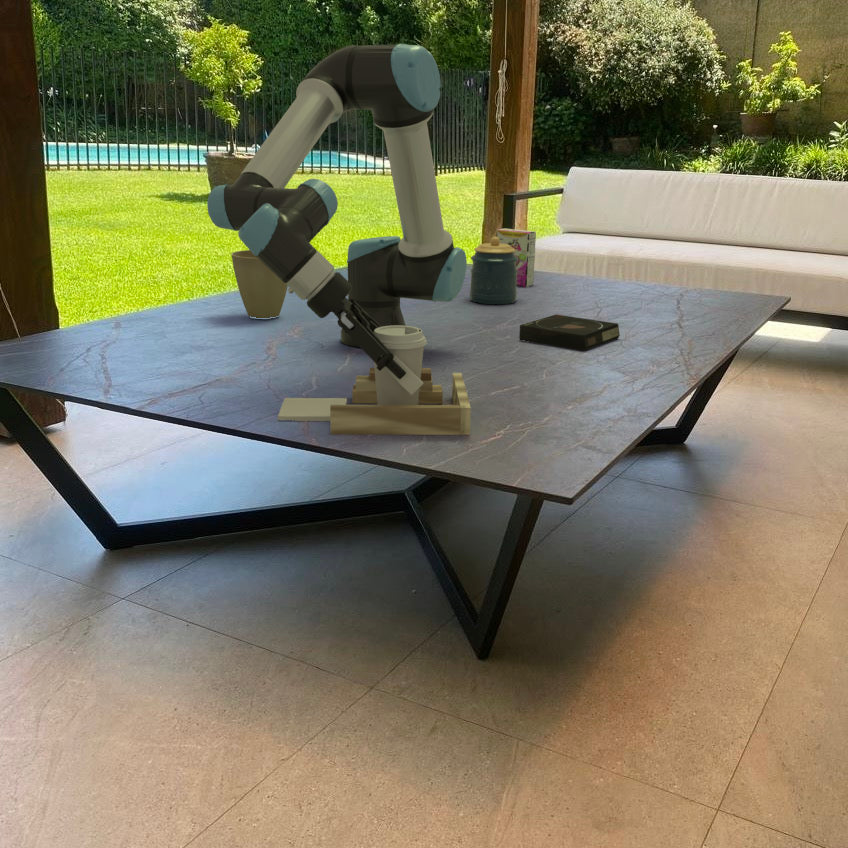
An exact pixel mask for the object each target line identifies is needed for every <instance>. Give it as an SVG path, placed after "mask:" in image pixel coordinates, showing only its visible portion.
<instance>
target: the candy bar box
mask: <svg viewBox="0 0 848 848" xmlns="http://www.w3.org/2000/svg"><path fill="white" fill-rule="evenodd" d="M496 237H498V238H499V239H500V244H508V245H510V246H511V247H512V248H514V249H515V250H516V251H515V252H514V255H515V256H516V257H517V258H518V261H517V262H516V269H517V270H518V272H517V287H522V288H528V287H531V286H532V287H533V286H534V280H535V279H534V275H535V258H536V257H535V256H536V241H537V239H536V238H537V232H536V231H535V230H525V229H515V228H514V229H513V228H500V229H496Z"/></svg>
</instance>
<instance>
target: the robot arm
mask: <svg viewBox="0 0 848 848" xmlns="http://www.w3.org/2000/svg"><path fill="white" fill-rule="evenodd" d="M440 75H441V74H440V71H439V68H438V65H437V62H436V60H435V58H434V56H433V54H432V53H431V52H430V51H428V49H426V48H425V47H424V46H422V45H416V44H414V45H413V44H406V43H399V44H378V45H377V44H375V45H374V44H373V45H372V44H371V45H367V44H366V45H361V44H359V45H356V44H355V45H349V46H344V47H343V48H340V49H338V50H336V51H334V52H333V53H330V54H329V55H328V56H326V57H324V58H323V59H322V60H321V61H320V62H318V63H317V64H316V65H315V66H314V67H313V68H312V69H311V70H310V71H309V72H308V73H307V74H306V76H305V77H303V78H302V80H301V82H299V84H298V86H297V88H296V94H295V95H296V98H295V99H294V100H293V102H292V103H291V105H289V107H288V109H287V110H286V112H285V113H284V114H283V116H282V117H281V119H280V120H279V121H278V122H277V124H276V125H275V126H274V128H273V129H272V130H271V132H270V133H269V135H268V136H267V137H266V139H265V140H264V142H263V143H262V144H261V145H260V147H259V148H258V150H257V151H256V152H255V153H254V155H253V156H252V158H251V159H250V161H249V162H248V164H246V166H245V167H244V169H243V170H242V172H241V173H240V174H239V176H238V177H237V178H236V180H235V182H234V183H233V184H228V183H226V184H220V185H216V186H215V187H213V188H212V190H211V191H210V193H209V195H208V199H207V203H206V204H207V213H208V217H209V218H210V220H211V222H212V223H213V224H214V225H215V226H216V227H217V228H219V229H223V230H231V231H234V232H238V236H237V237H239V240H240V241H241V242H242V243H243V244H244V245H245V247H246V248H247V250H250V251H251V252H252V254H253V255H254V256H256V257H257V258H258V259H259V260H260V261H262V262H263V263H264V264H265V265H266V266H267V267H268V268H269V269H270V270H271V271H272V272H273V273H274V274H275V275H276V276H278V277H279V278H280V279H281V280H282V281H283V282H284V283H285V284H286V285H287V286H288V287H287V292H288V294H293V293H294V294H295V295H296V296H297V297H298V298H299V299H300V300H301V301H305V300H307V302H306V306H307V307H308V308H309V309H310V310H311V311H312V312H313V313H314V314H315V315H316V316H317V317H318V318H320V319H324V318H326V317H327V316H329V315H330V313H333V314H334V315H335V316H336V318H337V321H336V322H337V325H338V326H339V328H341V329H340V342H341V343H342V344H344V345H346V346H350V347H354V346H355V348H356V347H357V348H361V349H362V350H363V351H364V353H365V354H366V355H368V357H369V358H370V359H371V360H372V361H373V363H374V362H375V363H376V365H377V366H378V367H377V369H378V370H379V371H381V370H382V369H383V368H384V369H385V370H386V371H387V372H388V373H389V374H390V375H391V376H392V377H393V378H394V379H396V380H397V381H398V382H399V383H400V384H401V385H402V386H403V387H404V388H405V389H406V390H407V391H408V392H409V393H410V394H411V395H412V394H413V393H414V392H415V391H416V390H417V389H418V388H419V387H421V386H422V385H423V382H422V381H421V380H420V379H419V378H418V377H417V376H416V375H415V374H414V373H413V372H412V371H411V370H410V369H409V368H408V367H407V366H406V365H405V364H404V363H403V362H402V361H401V360H400V359H399V358H398V357H397V356H396V355H395V356H393V354H392V353H391V352H390V351H389V350H388V349H387V348H386V347H385V345H384V344H383V343H382V342H381V341H380V340H379V338H378V337H377V336H376V335H375V334H374V330H375V329H376V328H379V327H383V326H394V325H401V326H407V325H406V322H405V318H404V315H403V312H402V309H401V299H412V300H421V301H428V302H429V301H431V302H433V303H437V302H444V303H449V302H451V301H453V300H455V299H456V298H457V297H458V296H459V293H460V292H461V290H462V287H463V284H464V282H465V278H466V272H467V266H468V265H467V264H468V263H467V254H466V252H465V251H464V250H463V249H462V248H460V247H458V246H457V247H456V246H454V240H453V236H452V234H451V232H449V231H447V230H446V229H445V228H444V224H443V217H442V210H441V203H440V197H439V191H438V185H437V179H436V174H435V173H436V171H435V166H434V161H433V155H432V153H433V152H432V148H431V141H430V134H429V129H428V128H429V127H428V122H429V120H430V119H431V118H432V117H433V114H434V109H435V108H436V107H437V105H438V103H439V100H440V98H441V91H440V88H442V84H441V82H442V81H441V77H440ZM355 110H363V111H365V110H367V111H370V112H371V114H372V119H373V124H374V125H375V126H376V127H378V129H381V130H382V131H383V134H384V140H385V145H386V152H387V157H388V161H389V162H388V163H389V167H390V172H391V173H390V174H391V178H392V183H393V188H394V189H393V190H394V193H395V199H396V204H397V205H396V206H397V209H398V216H399V219H400V220H399V221H400V226H401V230H402V238H401V237H400V236H397V235H391V236H378V237H369V238H363V239H357V240H353V241H351V243H350V244H349V245H348V249H347V260H346V264H347V278H345V277H344V275H342V274H341V272H337V271H334V270H335V266H334V265H333V264H332V263H331V262H330V261H329V260H328V259H326V257H325V256H324V255H323V254H322V253H321V252H320V251H319V250H317V248H315V247H314V246H313V245H312V244H311V241H312V240H313V239H314V238H315V237H316V236H318V234H319V233H320V232H321V231H322V230H323V229H324V228H325V227H326V226H328V224H329V223H330V221H331V219H332V218H333V216H334V215H335V214H336V213H337V211H338V210H337V209H338V205H339V203H338V198H337V195H336V192H335V191H334V190H333V188H332V187H331V186H330V185H329V184H328V183H327V182H325V181H323V180H322V179H318V178H310V179H307V180H305V181H304V182H302V183H300V184H299V185H298V186H297V187H296V188H289V187H288V188H286V186H287V185H288V183H290V181H291V179H292V178H293V176H294V175H295V174H296V172H297V170H298V169H299V168H300V166H302V163H303V162H304V160H305V159H306V157H307V156H308V155H309V153H310V152H311V150H312V149H313V147H314V146H315V145H316V143H317V142H318V141H319V139H320V138H321V136H322V135H323V133H324V132H325V130H326V129H327V128H328V126H329V125H330V124H333V123H336V122H337V121H338V120H340V119H341V117H342V116H343V114H344V113H346V112H349V111H355ZM347 297H348V298H347Z"/></svg>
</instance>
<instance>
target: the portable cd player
mask: <svg viewBox="0 0 848 848" xmlns="http://www.w3.org/2000/svg"><path fill="white" fill-rule="evenodd" d="M620 336H621V335H620V327H619V323H616V322H611V321H603V320H597V319H590V318H581V317H577V316H570V315H562V314H558V313H557V314H553V315H549V316H546V317H543V318H540V319H537V320H533V321H529V322H526V323H522V324H520V325H519V336H518V337H519V339H520V340H525V341H524V342H526V341H529V342H528V343H532V342H533V344H540V345H544V346H545V345H546V346H550V347H557V348H562V349H567V350H568V349H569V350H572V351H573V350H575V351H581V352H585V351H589V350H591V349H594V348H596V347H600V346H602V345H604V344H608V343H611V342H613V341H615V340H618V339H619V338H620ZM520 340H519V341H520Z"/></svg>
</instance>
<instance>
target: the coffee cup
mask: <svg viewBox="0 0 848 848" xmlns="http://www.w3.org/2000/svg"><path fill="white" fill-rule="evenodd" d="M374 334H375V335H376V336H377V337H378V338H379V340H380V341H381V342H382V343H383V344H384V345H385V347H386V348H387V349H388V350H389V351H390V352H391V353H392V354H393V356H395V355H396V356H397V357H398V358H399V359H400V360H401V361H402V362H403V363H404V364H405V365H406V366H407V367H408V368H409V369H410V370H411V371H412V372H413V373H414V374H415V375H416V376H417V377H418V378H419V379H421V369H422V368H423V357H424V349H425V346H426V345H427V343H428V341H427V338H426V337H425V335H424V333H423V330H422V329H421V328H420V327H416V326H410V325H406V326H401V325H394V326H383V327H379V328H376V329H375V330H374ZM373 366H374V367H373V368H374V369H375V380H376V391H377V402H378V403H377V405H419V404H418V400H419V389H420V387H419V388H418V389H417V390H416V391H415V392H414V393H413V394H412V395H411V394H410V393H409V392H408V391H407V390H406V389H405V388H404V387H403V386H402V385H401V384H400V383H399V382H398V381H397V380H396V379H394V378H393V377H392V376H391V375H390V374H389V373H388V372H387V371H386V370H385V369H384V368H383V369H382V370H381V371H379V370H378V369H377V367H378V366H377V365H376V363H375V362H374V361H373Z"/></svg>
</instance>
